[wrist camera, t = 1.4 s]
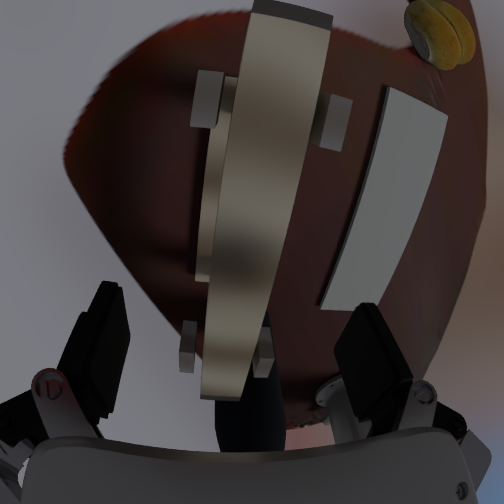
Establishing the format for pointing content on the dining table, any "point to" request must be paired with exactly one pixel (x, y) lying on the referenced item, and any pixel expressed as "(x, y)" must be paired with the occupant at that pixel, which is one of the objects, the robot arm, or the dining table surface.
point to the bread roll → (439, 33)
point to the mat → (387, 201)
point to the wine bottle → (253, 414)
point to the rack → (218, 119)
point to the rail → (259, 182)
